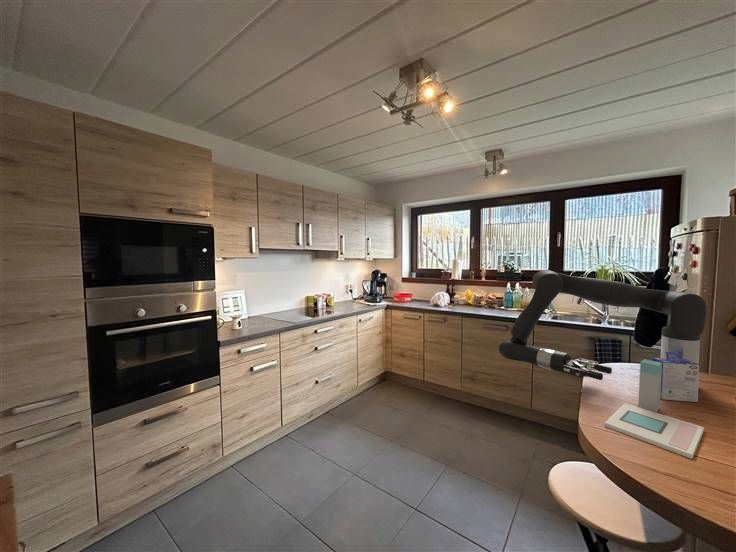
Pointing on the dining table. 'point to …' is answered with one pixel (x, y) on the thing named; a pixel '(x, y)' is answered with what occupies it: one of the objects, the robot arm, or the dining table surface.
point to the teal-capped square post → (650, 385)
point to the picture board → (657, 429)
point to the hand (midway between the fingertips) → (607, 373)
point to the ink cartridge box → (678, 378)
